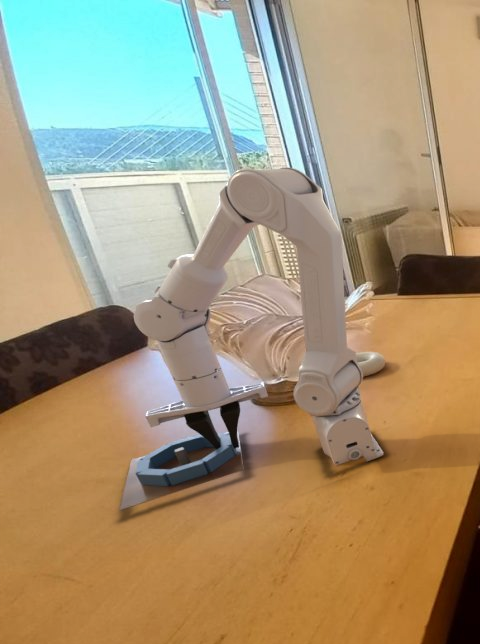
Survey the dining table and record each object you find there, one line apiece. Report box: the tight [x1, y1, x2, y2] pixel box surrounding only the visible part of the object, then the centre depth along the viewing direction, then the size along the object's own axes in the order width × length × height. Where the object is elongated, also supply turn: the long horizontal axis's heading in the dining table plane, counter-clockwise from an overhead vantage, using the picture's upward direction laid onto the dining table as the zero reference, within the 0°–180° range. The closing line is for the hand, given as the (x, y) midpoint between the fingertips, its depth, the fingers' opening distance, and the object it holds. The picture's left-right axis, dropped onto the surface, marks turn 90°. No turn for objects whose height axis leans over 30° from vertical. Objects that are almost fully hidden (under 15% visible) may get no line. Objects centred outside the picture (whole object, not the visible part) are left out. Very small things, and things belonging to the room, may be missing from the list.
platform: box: [118, 428, 245, 511], centre depth 74 cm, size 16×14×4 cm
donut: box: [356, 351, 387, 378], centre depth 110 cm, size 10×3×10 cm
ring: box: [136, 432, 236, 486], centre depth 75 cm, size 11×11×2 cm
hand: (229, 447), depth 78 cm, fingers closed on ring, 1 cm apart
